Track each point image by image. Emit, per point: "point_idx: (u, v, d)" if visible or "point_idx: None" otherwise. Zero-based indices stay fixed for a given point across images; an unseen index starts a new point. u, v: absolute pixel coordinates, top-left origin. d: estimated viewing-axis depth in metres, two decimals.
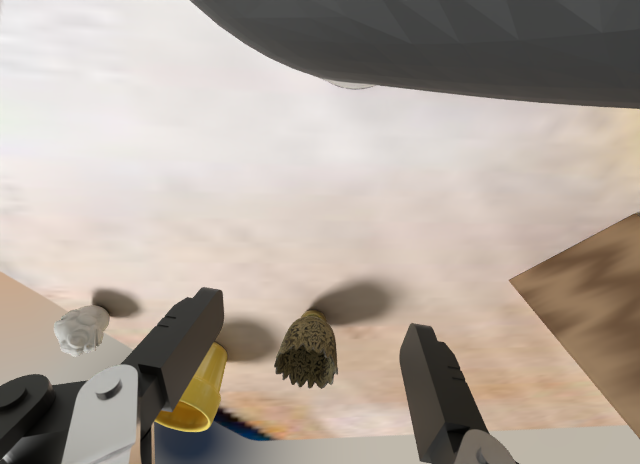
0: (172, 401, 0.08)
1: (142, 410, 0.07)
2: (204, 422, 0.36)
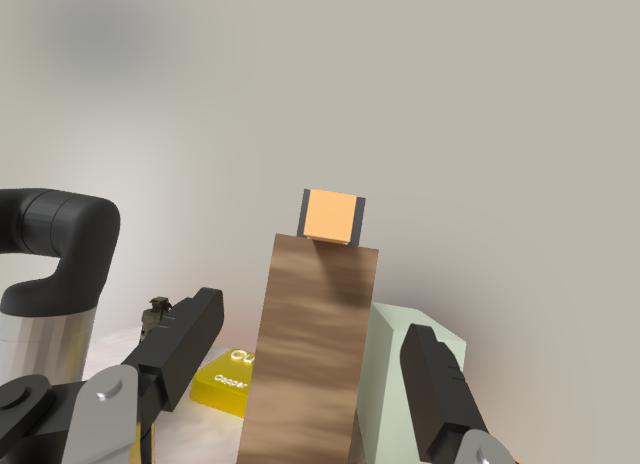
0: (172, 401, 0.08)
1: (142, 410, 0.07)
2: None
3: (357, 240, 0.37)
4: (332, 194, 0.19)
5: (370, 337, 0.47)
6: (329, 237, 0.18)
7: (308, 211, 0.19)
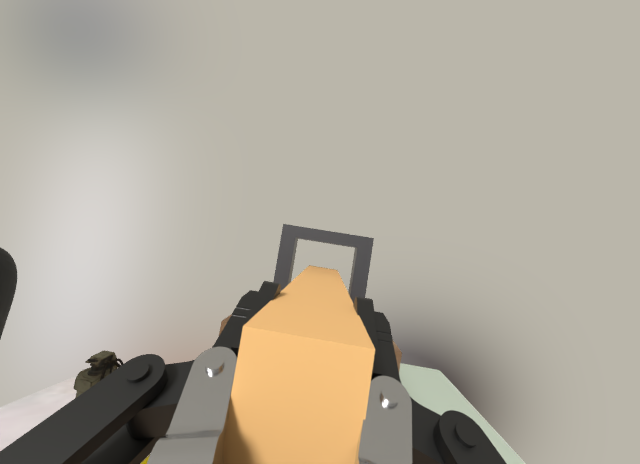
0: None
1: None
2: None
3: None
4: (304, 343, 0.06)
5: None
6: None
7: (235, 393, 0.06)
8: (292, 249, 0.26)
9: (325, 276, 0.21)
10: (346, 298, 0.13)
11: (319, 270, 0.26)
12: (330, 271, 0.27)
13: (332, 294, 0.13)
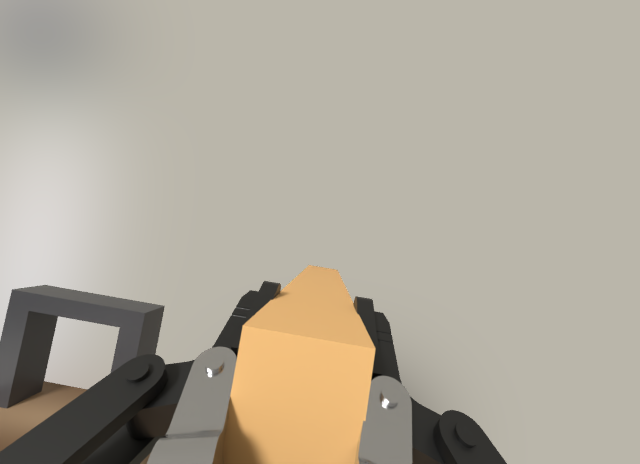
0: None
1: None
2: None
3: None
4: (304, 343, 0.06)
5: None
6: None
7: (234, 393, 0.06)
8: (22, 329, 0.17)
9: (325, 276, 0.21)
10: (346, 298, 0.13)
11: (319, 270, 0.26)
12: (330, 271, 0.27)
13: (332, 294, 0.13)
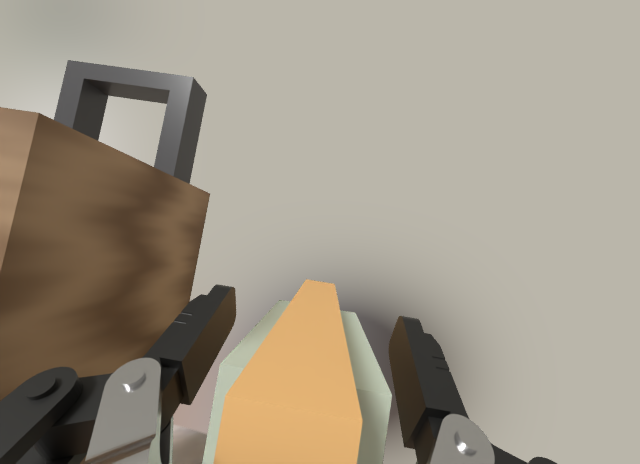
0: (190, 394, 0.08)
1: (164, 402, 0.07)
2: None
3: (171, 165, 0.17)
4: (289, 414, 0.06)
5: None
6: None
7: None
8: (78, 94, 0.18)
9: (321, 296, 0.21)
10: (339, 332, 0.12)
11: (316, 286, 0.26)
12: (327, 287, 0.27)
13: (325, 327, 0.13)
